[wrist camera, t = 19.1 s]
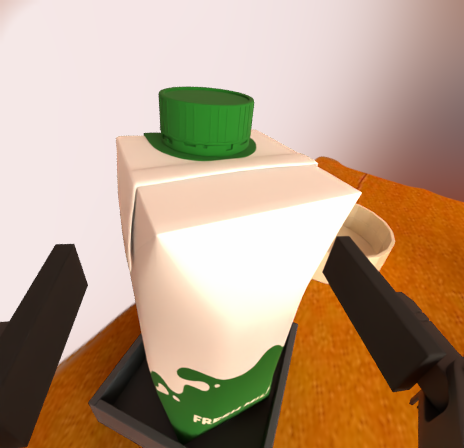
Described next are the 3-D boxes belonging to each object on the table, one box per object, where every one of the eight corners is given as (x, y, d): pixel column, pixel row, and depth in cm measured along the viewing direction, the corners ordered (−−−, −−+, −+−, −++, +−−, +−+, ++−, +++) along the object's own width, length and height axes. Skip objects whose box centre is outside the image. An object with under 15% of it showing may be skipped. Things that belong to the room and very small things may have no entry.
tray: (97, 420, 18) (87, 402, 17) (181, 299, 27) (181, 279, 25) (253, 512, 15) (261, 501, 14) (290, 342, 24) (298, 323, 23)
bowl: (262, 263, 33) (268, 234, 30) (285, 209, 44) (291, 185, 41) (383, 303, 29) (402, 274, 27) (375, 234, 40) (388, 209, 38)
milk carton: (233, 311, 26) (265, 87, 14) (287, 406, 20) (422, 138, 8) (141, 345, 22) (88, 82, 11) (170, 475, 16) (116, 168, 4)
